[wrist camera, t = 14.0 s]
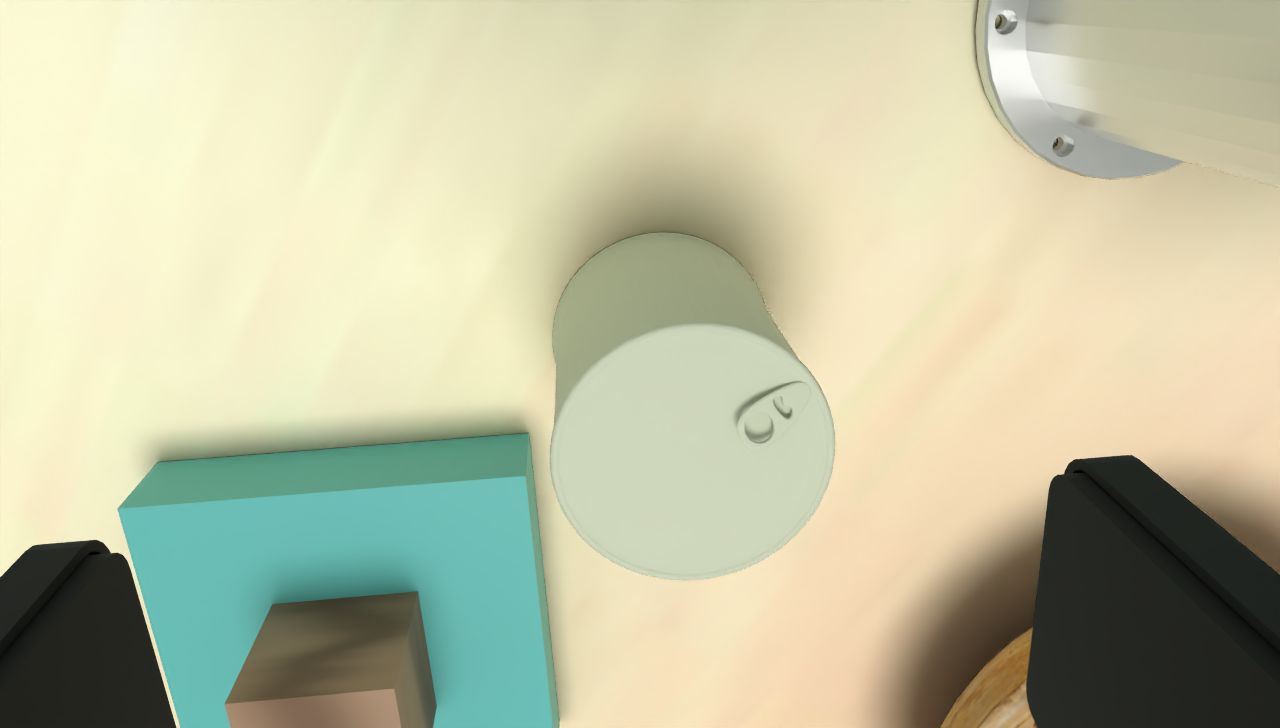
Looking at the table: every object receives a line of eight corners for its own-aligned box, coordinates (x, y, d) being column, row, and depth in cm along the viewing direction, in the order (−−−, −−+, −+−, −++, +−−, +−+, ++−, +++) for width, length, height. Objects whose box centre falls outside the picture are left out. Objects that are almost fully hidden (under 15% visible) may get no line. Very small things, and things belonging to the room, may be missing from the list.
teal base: (528, 433, 42) (525, 475, 39) (559, 721, 48) (558, 783, 44) (157, 462, 41) (117, 508, 38) (234, 751, 47) (206, 816, 44)
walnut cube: (418, 591, 40) (394, 688, 35) (436, 706, 42) (417, 815, 37) (272, 604, 40) (224, 704, 34) (298, 719, 42) (257, 830, 36)
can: (806, 358, 42) (894, 492, 31) (633, 471, 43) (657, 638, 32) (690, 186, 39) (741, 266, 28) (508, 314, 40) (486, 439, 29)
